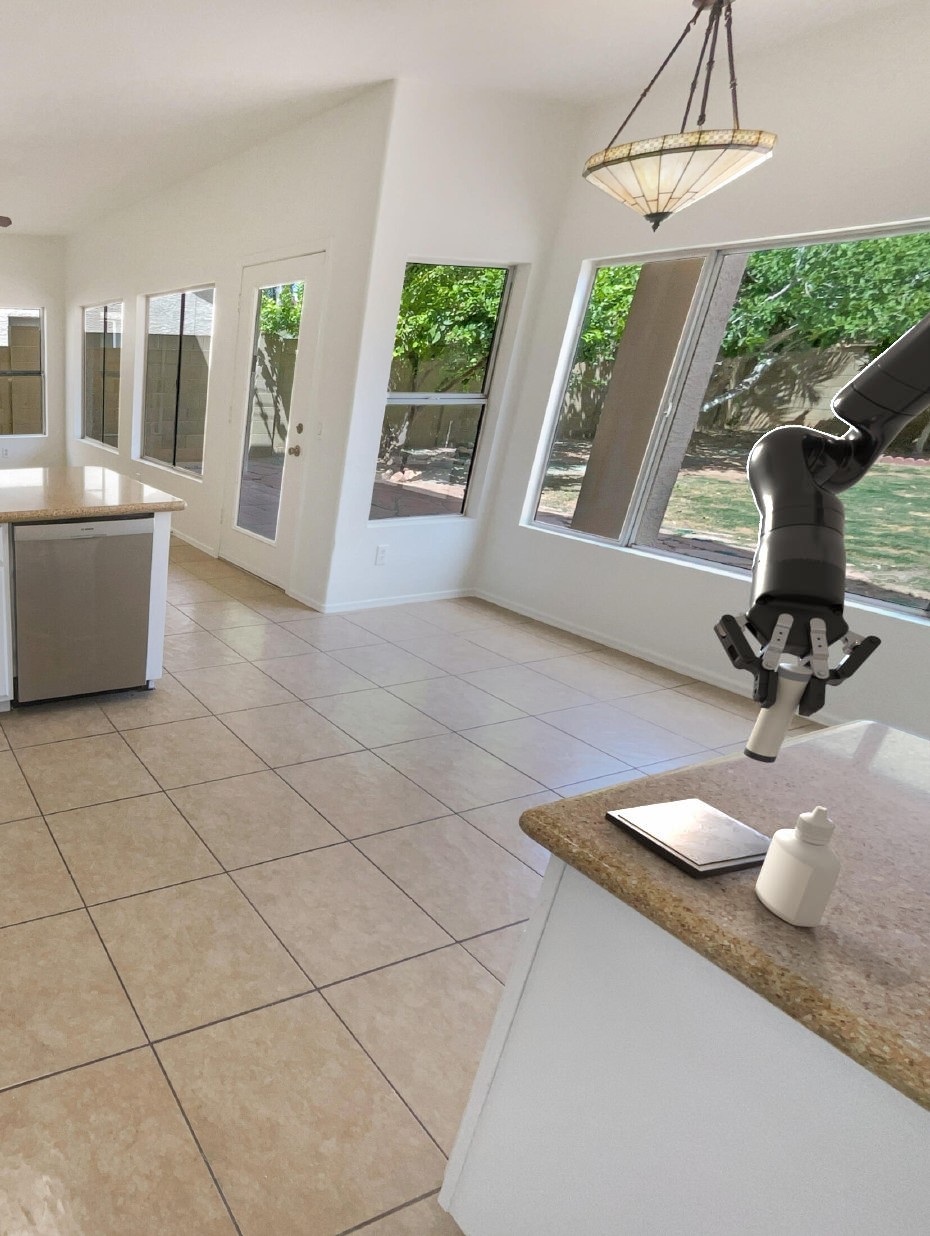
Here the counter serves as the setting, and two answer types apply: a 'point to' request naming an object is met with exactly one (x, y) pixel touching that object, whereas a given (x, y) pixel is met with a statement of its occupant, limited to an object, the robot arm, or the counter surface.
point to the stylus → (778, 713)
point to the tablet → (694, 836)
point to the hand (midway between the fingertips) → (787, 709)
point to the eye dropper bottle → (800, 870)
